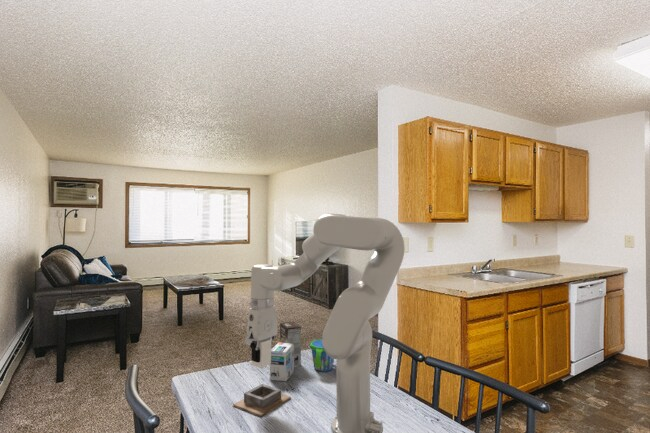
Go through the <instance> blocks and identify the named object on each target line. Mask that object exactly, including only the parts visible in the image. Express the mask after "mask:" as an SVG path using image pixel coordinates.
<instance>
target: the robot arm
mask: <svg viewBox="0 0 650 433" xmlns="http://www.w3.org/2000/svg"><path fill="white" fill-rule="evenodd" d="M312 232H313V233H312V234H310V235H309V236H308V237H307V238H306V239H305V240H303V242H302V243H301V244H302V245H301V248H302V251H303V253H302V254H301V255H300V256H299V257H297V258H296V259H295V260H294V261H292V262H291V263H289V264H283V265H282V264H281V265H278V266H273V265H272V264H266V263H263V264H262V263H261V264H260V263H259V264H254V265H253V266H252V267H251V270H250V272H251V274H250V275H251V276H250V302H249V306H250V308H249V310H248V314H247V315H248V316H247V326H246V337H245V339H244V343H245V344H246V345H247V346H248V347H249V348H250V350H251V361H255V362H260V349H259V344H260V341H262V340H265V339H268V338H269V339H271V346H272V345H273V342H274V339H275V337H276V336H277V334H278V314H277V312H278V311H277V307H276V305H275V292H280V291H283V290H287V289H291V288H294V287H295V288H296V287H298V286H299V285H302V283H303V282H305V281H306V280H307V279H309V278H310V277H311V276H313V274H314V273H316V272H317V270H319V268H320V267H321V265H322V264H323V262H325V261H326V260H327V259H329V258H330V257H331V256H332V255H334V254H335V253H336V252H337V251H338V250H340V249H341V248H343V249H345V248H346V249H349V250H351V249H352V250H356V251H373V252H372V255H371V257H370V258H369V260H368V261H367V263H366V266H365V268H364V270H363V272H362V274H361V277H360V278H359V280H358V281H357V282H356V283H355V284H354V285H350V286H349V287H348V288H345V289H344V290H343V291H342V292H341V293H340V295H339V296H338V297H337V299H336V301H335V304H334V305H333V308H332V310H331V313H330V315H329V317H328V319H327V320H326V321H327V322H326V324H325V326H324V328H323V332H322V334H321V339H322V345H323V348H324V350H325V352H326V353H327V355H328V356H330V357H331V358H333V359H334V360H336V370H335V371H336V372H335V374H336V376H335V377H336V384H335V385H336V386H335V387H336V388H335V389H336V416H335V417H334V418H333V419H332V420H331V422H330V429H331V432H332V433H383V431H384V426H383V421H382V420H377V419H376V418H375V414H374V412H373V411H371V353H372V343H373V329H372V325H371V322H370V321H369V320H370V319H372V318H374V317H375V316H376V315H377V314H379V313H380V312H381V310H382V309H383V307H384V305H385V301H386V299H387V298H388V295H389V293H390V291H391V288H392V286H393V283H394V281H395V279H396V277H397V275H398V273H399V270H400V269H401V265H402V263H403V260H404V256H405V241H404V237H403V235H402V233H401V231H400V229H399V228H398V227H397V225H395V224H394V223H393V222H391V221H390V220H388V219H387V218H380V217H361V216H351V215H346V214H340V213H324V214H323V215H321V216H319V217H318V218H317V219H316V221H315V222H314V224H313V229H312ZM255 341H256V344H255Z"/></svg>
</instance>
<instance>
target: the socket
mask: <svg viewBox="0 0 650 433" xmlns="http://www.w3.org/2000/svg"><path fill="white" fill-rule="evenodd" d="M291 397H292V396H290V395H287V394H284V393H282V389H279V388H276V387H273V386H270V385H266V384H264V383H261V384H259V385H258V386H256V387H253V388H251V389H250V390H248V391H246V392H244V393H243V399H241V400H239V401H237V402H235V403H234V404H233V407H234V408H237V409H240V410H242V411H244V412H247V413H248V414H249V413H250V414H253V415H255V416H257V417H260V418H262V417H263V416H265V415H267V414H269V413H270V412H272V411H273V410H275V409H276V408H279V407H280V406H281V405H283V404H285V403H286V402H288V401H289V400H291V399H292V398H291Z"/></svg>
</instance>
